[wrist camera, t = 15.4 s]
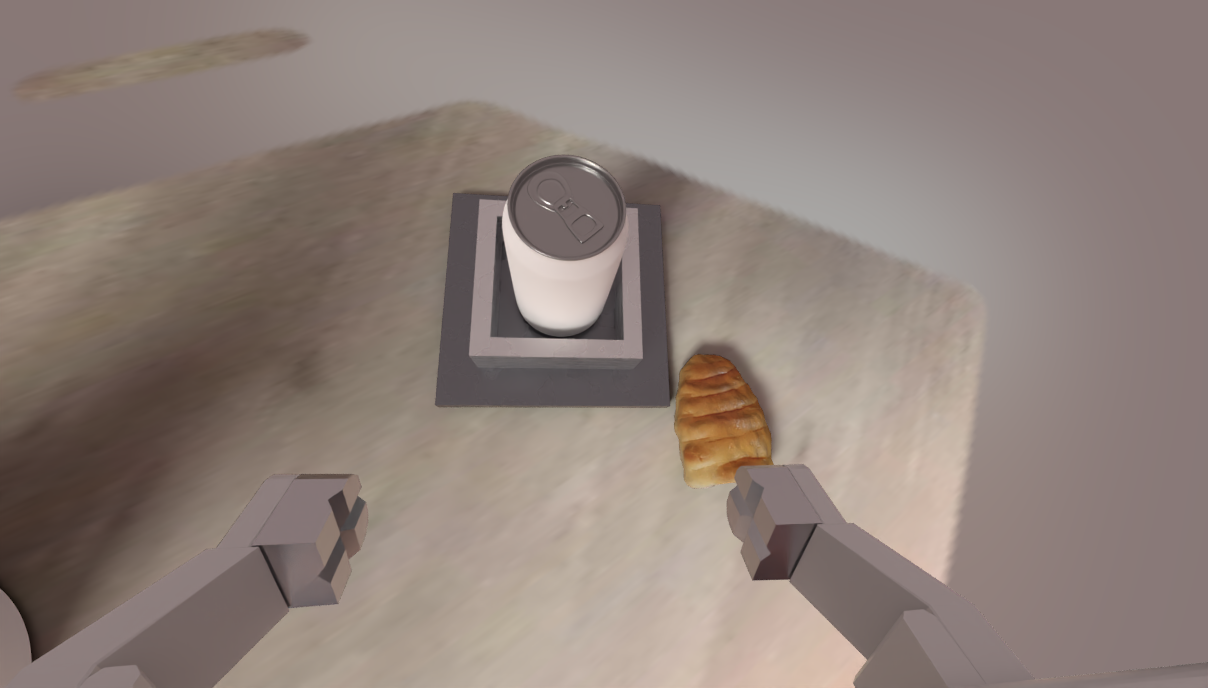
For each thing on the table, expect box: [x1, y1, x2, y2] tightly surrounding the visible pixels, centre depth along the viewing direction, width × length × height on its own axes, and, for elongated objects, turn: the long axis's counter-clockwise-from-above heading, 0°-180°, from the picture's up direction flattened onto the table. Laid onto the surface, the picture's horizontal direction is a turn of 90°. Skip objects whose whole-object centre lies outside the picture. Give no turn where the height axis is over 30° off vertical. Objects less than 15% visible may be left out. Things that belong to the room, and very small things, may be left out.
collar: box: [435, 193, 670, 408], centre depth 31 cm, size 16×16×4 cm
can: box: [502, 155, 629, 337], centre depth 27 cm, size 6×6×12 cm
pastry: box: [674, 354, 774, 489], centre depth 31 cm, size 9×7×4 cm
